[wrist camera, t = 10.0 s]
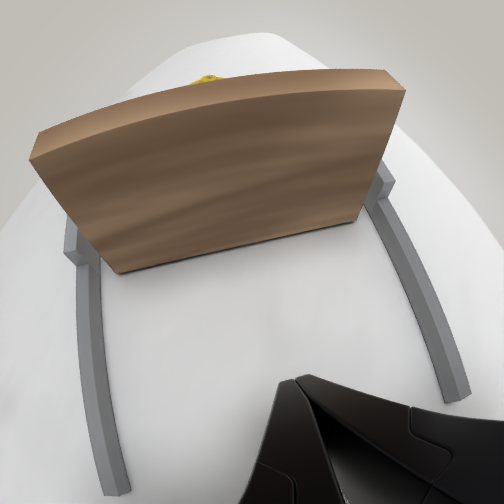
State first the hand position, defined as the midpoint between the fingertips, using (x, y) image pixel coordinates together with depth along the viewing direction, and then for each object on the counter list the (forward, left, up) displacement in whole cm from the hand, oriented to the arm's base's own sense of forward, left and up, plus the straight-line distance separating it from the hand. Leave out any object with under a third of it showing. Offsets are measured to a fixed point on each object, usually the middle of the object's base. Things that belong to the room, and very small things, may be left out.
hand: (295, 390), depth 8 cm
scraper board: (+9, 0, -6) cm, 11 cm away
